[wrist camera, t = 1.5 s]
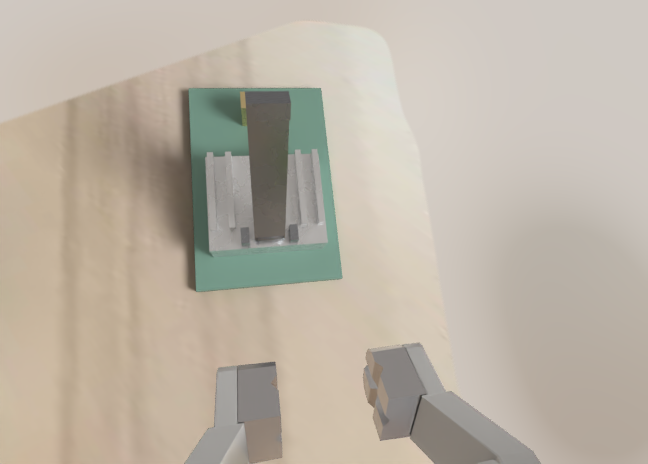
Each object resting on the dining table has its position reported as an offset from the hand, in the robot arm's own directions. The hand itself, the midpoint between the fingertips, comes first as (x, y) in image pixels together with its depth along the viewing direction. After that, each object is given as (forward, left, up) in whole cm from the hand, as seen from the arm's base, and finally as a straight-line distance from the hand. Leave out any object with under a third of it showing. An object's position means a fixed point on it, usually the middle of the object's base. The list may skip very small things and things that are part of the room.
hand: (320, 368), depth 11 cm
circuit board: (-9, +14, -33) cm, 38 cm away
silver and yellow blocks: (-9, +15, -32) cm, 37 cm away
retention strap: (-7, +11, -21) cm, 24 cm away
